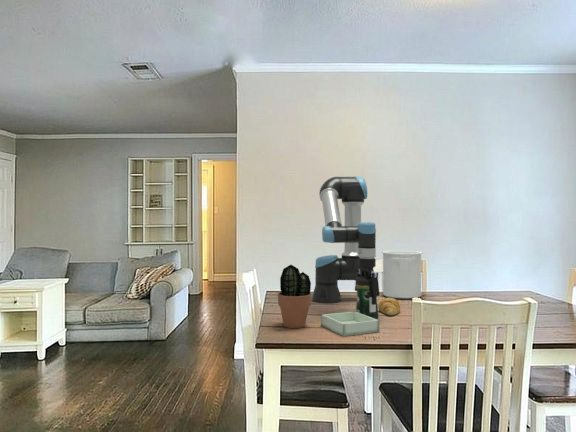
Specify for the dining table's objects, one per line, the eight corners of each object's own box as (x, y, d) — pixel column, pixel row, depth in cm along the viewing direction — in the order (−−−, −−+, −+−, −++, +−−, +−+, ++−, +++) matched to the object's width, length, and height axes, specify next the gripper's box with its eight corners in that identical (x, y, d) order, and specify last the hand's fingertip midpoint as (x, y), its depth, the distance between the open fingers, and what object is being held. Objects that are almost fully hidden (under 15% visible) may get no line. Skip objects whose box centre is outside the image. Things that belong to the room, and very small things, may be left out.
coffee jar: (374, 316, 209) (374, 274, 209) (380, 320, 201) (380, 277, 201) (353, 316, 208) (353, 275, 208) (358, 321, 200) (358, 277, 200)
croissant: (396, 325, 208) (405, 309, 207) (376, 313, 209) (384, 298, 208) (393, 313, 229) (401, 299, 228) (375, 303, 230) (383, 289, 229)
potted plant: (300, 331, 183) (300, 267, 183) (271, 326, 190) (271, 265, 190) (317, 324, 195) (317, 263, 194) (289, 320, 202) (289, 262, 202)
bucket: (380, 292, 272) (380, 249, 271) (418, 293, 269) (419, 250, 268) (383, 300, 246) (383, 253, 246) (425, 301, 243) (425, 254, 243)
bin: (321, 325, 192) (321, 314, 192) (354, 321, 199) (354, 311, 199) (343, 336, 176) (343, 324, 176) (379, 331, 182) (379, 320, 182)
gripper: (346, 256, 212) (346, 306, 213) (373, 260, 193) (373, 315, 193) (360, 255, 215) (360, 304, 216) (388, 259, 196) (388, 314, 196)
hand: (366, 309), depth 204 cm, fingers closed on coffee jar, 8 cm apart
